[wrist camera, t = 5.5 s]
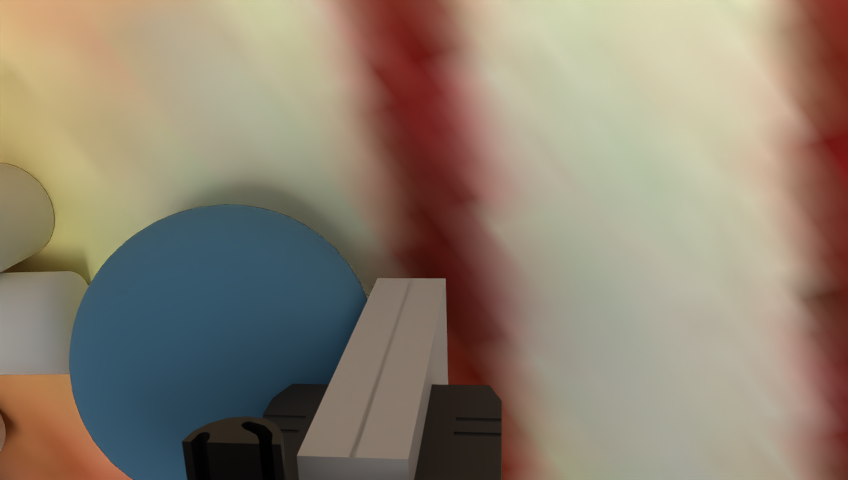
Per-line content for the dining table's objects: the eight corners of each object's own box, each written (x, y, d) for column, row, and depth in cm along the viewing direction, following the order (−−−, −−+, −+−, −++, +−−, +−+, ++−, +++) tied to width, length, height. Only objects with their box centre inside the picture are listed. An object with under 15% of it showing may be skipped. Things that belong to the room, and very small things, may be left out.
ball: (285, 614, 13) (-21, 510, 14) (378, 459, 19) (158, 393, 20) (350, 277, 12) (9, 189, 13) (428, 223, 17) (190, 166, 18)
